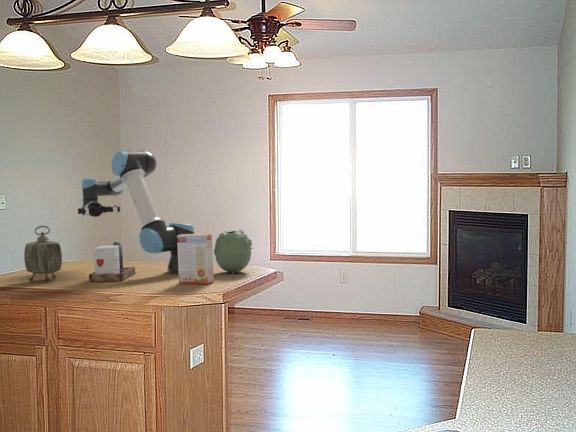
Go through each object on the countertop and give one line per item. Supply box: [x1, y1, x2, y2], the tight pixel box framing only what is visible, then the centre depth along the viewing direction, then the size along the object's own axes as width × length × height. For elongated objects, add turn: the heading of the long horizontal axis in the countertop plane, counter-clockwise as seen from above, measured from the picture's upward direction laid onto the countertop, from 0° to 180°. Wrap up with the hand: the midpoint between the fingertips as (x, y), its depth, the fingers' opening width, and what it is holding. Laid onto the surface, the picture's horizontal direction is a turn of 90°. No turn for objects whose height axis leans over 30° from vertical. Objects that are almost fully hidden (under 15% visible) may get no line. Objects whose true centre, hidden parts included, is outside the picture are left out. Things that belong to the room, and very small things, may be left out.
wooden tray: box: [88, 241, 136, 282], centre depth 310 cm, size 15×23×15 cm, turn 178°
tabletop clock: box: [23, 225, 63, 282], centre depth 306 cm, size 14×9×25 cm, turn 133°
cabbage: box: [213, 229, 254, 274], centre depth 313 cm, size 16×19×20 cm
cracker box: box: [177, 233, 215, 285], centre depth 287 cm, size 14×6×21 cm, turn 70°
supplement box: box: [93, 245, 120, 274], centre depth 304 cm, size 9×9×15 cm
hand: (102, 210), depth 324 cm, fingers open, 13 cm apart
